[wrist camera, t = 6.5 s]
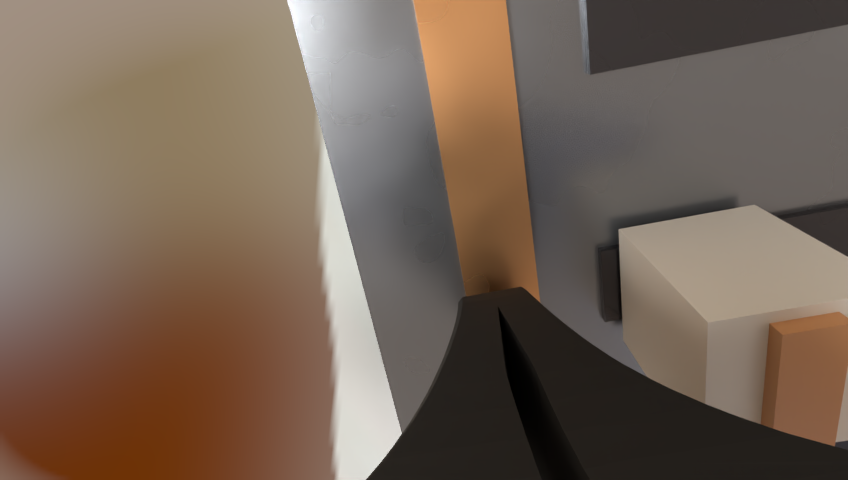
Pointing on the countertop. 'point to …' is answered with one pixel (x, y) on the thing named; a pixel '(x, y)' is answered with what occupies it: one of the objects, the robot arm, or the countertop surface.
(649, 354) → the block
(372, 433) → the countertop surface
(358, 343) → the countertop surface
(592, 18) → the breaker panel
